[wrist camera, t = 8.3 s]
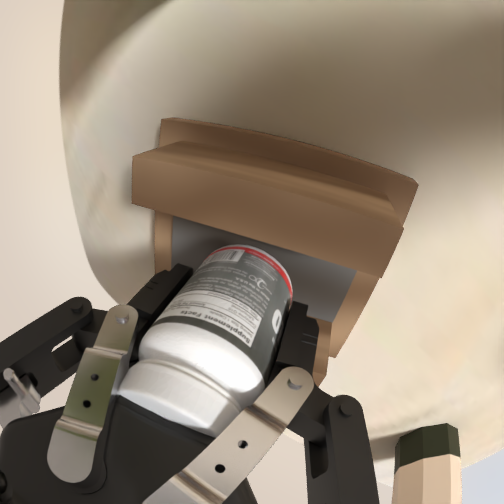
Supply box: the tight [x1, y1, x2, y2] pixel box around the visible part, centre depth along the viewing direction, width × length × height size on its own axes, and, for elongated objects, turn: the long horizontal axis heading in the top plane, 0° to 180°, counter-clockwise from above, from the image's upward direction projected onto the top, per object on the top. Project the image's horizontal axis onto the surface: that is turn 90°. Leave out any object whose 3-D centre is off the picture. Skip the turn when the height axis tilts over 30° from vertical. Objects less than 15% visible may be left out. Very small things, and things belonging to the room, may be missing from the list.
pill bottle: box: [116, 244, 292, 438], centre depth 11 cm, size 5×5×8 cm
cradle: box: [132, 118, 418, 387], centre depth 15 cm, size 13×14×6 cm
